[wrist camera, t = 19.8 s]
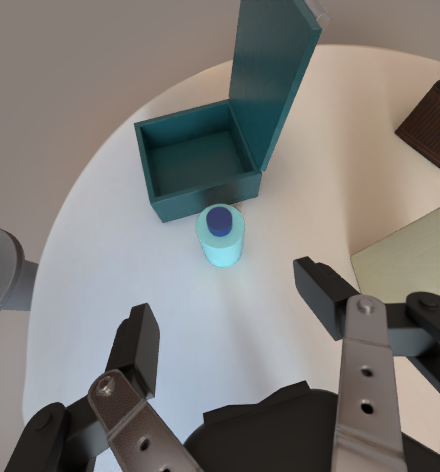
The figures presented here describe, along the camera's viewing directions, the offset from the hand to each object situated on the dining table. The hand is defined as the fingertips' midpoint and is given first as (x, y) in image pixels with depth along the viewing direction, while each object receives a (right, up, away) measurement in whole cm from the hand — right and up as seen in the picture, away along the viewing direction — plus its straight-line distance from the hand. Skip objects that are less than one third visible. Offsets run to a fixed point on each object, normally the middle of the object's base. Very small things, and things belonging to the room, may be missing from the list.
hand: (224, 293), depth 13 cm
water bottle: (0, +1, +23) cm, 23 cm away
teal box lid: (+4, +21, +14) cm, 26 cm away
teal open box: (-4, +14, +28) cm, 31 cm away
